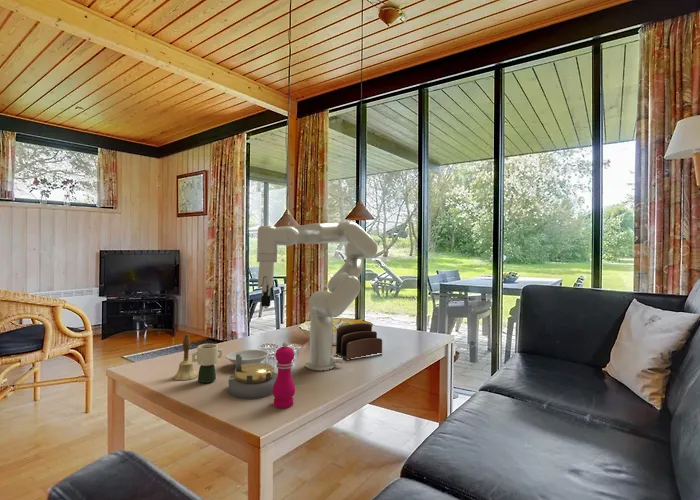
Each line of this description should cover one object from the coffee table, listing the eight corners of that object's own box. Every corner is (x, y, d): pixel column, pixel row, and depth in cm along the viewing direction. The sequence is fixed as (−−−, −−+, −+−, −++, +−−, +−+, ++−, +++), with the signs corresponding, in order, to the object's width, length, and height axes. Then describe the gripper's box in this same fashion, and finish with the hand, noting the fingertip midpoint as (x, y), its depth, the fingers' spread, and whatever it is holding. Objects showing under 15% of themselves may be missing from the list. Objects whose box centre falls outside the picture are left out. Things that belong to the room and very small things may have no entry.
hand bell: (173, 374, 149) (174, 332, 149) (197, 372, 153) (198, 331, 152) (173, 381, 142) (174, 338, 142) (197, 379, 145) (198, 336, 145)
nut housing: (280, 380, 146) (280, 369, 146) (276, 398, 130) (276, 385, 129) (233, 380, 145) (234, 369, 145) (223, 398, 128) (223, 386, 128)
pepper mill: (267, 406, 123) (269, 343, 123) (279, 398, 130) (281, 338, 129) (287, 410, 120) (289, 346, 120) (298, 402, 127) (300, 340, 127)
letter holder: (335, 355, 182) (336, 325, 181) (370, 350, 192) (371, 321, 192) (346, 361, 173) (347, 329, 173) (382, 355, 184) (383, 325, 184)
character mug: (218, 375, 149) (218, 341, 149) (225, 381, 144) (225, 346, 144) (188, 381, 143) (189, 345, 142) (194, 387, 137) (195, 350, 137)
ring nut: (266, 369, 146) (267, 346, 146) (278, 380, 135) (279, 355, 135) (230, 374, 139) (231, 350, 139) (240, 386, 128) (241, 360, 128)
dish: (230, 375, 151) (230, 362, 151) (221, 364, 163) (221, 352, 163) (274, 368, 160) (274, 356, 160) (262, 359, 172) (262, 347, 172)
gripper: (259, 257, 156) (258, 303, 157) (254, 258, 142) (253, 309, 142) (278, 257, 157) (277, 303, 158) (275, 259, 142) (273, 309, 143)
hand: (265, 306), depth 150 cm, fingers closed
